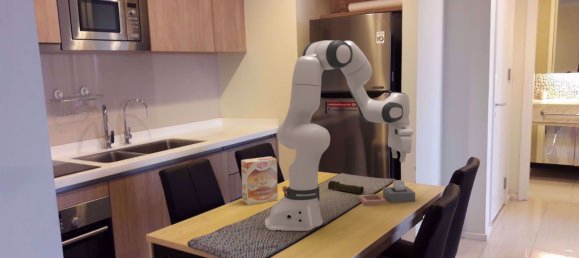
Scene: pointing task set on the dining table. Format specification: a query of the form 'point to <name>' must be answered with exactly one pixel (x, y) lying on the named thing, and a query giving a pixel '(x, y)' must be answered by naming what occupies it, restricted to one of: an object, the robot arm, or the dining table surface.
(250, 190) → the coffeecake box
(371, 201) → the pink square tray
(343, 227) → the dining table surface
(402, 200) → the socket block
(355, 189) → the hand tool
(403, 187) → the spigot
